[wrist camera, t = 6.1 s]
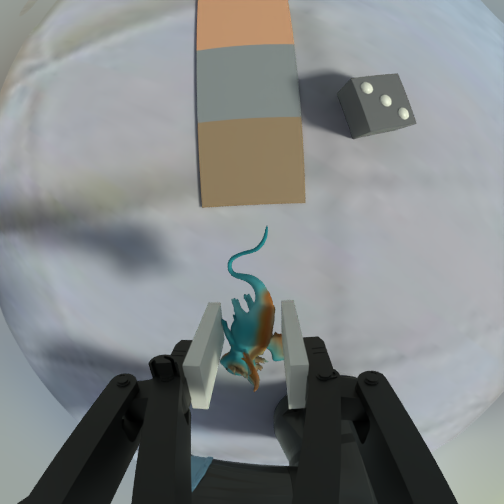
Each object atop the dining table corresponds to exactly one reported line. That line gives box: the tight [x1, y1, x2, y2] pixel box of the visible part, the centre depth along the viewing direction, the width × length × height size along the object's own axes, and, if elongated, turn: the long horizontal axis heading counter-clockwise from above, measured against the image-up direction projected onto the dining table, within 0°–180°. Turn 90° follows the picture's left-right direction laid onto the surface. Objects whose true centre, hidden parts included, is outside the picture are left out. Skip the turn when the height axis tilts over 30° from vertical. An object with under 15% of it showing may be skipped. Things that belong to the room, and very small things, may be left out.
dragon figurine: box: [220, 226, 284, 392], centre depth 16 cm, size 6×7×8 cm
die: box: [337, 74, 416, 139], centre depth 21 cm, size 5×5×5 cm
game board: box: [197, 0, 305, 208], centre depth 23 cm, size 26×10×1 cm, turn 3°
